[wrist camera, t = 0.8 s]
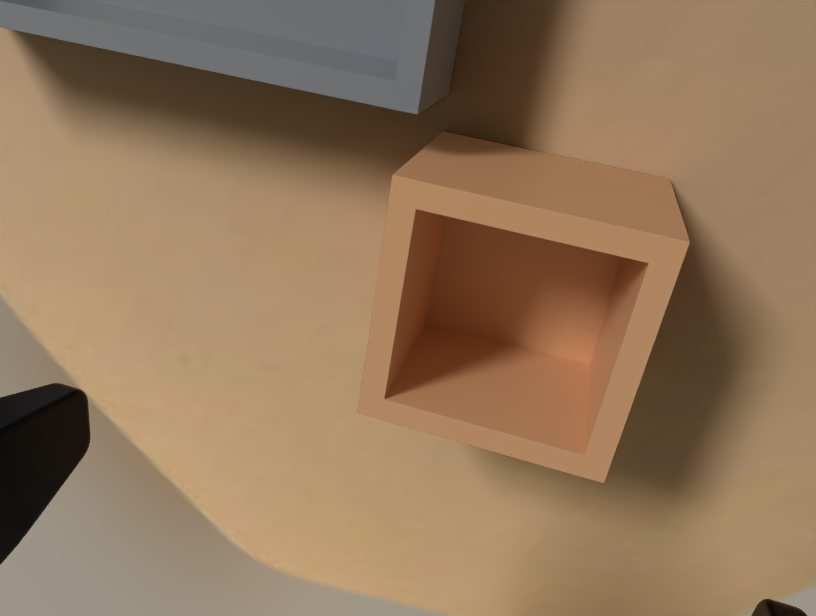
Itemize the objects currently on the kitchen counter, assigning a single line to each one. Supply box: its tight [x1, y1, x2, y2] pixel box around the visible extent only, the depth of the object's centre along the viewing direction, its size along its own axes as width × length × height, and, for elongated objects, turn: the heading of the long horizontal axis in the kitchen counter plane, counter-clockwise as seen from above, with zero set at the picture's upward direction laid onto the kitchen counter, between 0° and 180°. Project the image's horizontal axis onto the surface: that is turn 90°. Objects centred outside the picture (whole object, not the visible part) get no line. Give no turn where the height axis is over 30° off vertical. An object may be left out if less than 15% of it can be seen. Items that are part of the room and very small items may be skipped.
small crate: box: [358, 131, 690, 483], centre depth 18 cm, size 6×6×5 cm
